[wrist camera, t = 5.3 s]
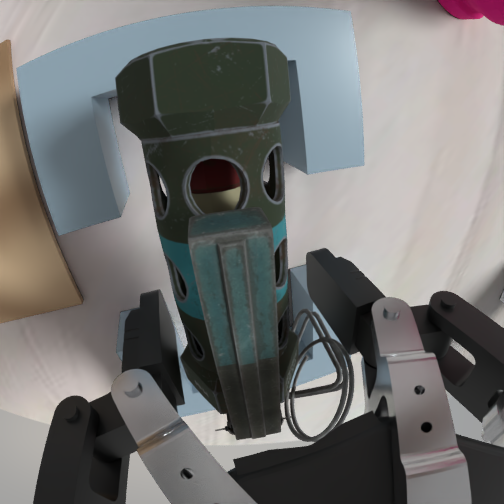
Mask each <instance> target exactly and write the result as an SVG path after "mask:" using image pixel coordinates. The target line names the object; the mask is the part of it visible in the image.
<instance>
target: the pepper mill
mask: <svg viewBox="0 0 504 504" xmlns="http://www.w3.org/2000/svg"><path fill="white" fill-rule="evenodd" d="M438 2H439V3H440V4H441V5H442V6H443V7H444V9H445V10H446V11H448V12H449V13H450V14H451V15H453V16H454V17H457V18H459V19H480V18H482V17H483V16H485V17H486V18H488V19H489V20H491V21H492V22H494V23H496V24H500V25H504V0H438Z"/></svg>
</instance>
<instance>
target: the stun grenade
mask: <svg viewBox="0 0 504 504" xmlns="http://www.w3.org/2000/svg"><path fill="white" fill-rule="evenodd" d="M115 82H116V92H117V100H118V108H119V116H120V123H121V124H122V125H123V126H125V127H126V128H127V129H128V130H130V131H131V132H132V133H134V134H135V135H136V136H137V137H138V138H139V139H140V140H141V142H142V147H143V153H144V158H145V163H146V168H147V173H148V177H149V181H150V186H151V193H152V201H153V206H154V212H155V218H156V223H157V229H158V233H159V237H160V241H161V244H162V248H163V252H164V256H165V259H166V262H167V265H168V270H169V275H170V280H171V285H172V289H173V294H174V298H175V301H176V305H177V308H178V311H179V314H180V318H181V321H182V323H183V325H184V329H185V333H186V337H187V341H188V344H187V346H186V348H185V350H184V351H183V353H182V355H181V356H180V360H181V362H182V365H183V368H184V371H185V373H186V376H187V379H188V380H189V381H190V382H191V383H192V384H193V386H194V387H195V388H196V389H197V390H198V391H199V392H200V394H201V395H202V396H203V397H204V398H205V399H206V400H207V401H208V402H209V403H210V404H211V405H212V406H213V407H214V408H215V409H216V410H217V411H218V412H219V413H220V414H227V420H228V422H227V426H225V428H223V429H218V430H215V431H219V430H225V429H226V431H228V432H229V433H230V434H232V435H235V436H236V439H237V440H240V439H246V438H252V439H255V438H261V437H265V436H266V435H269V434H274V433H279V432H281V425H282V423H283V421H284V420H283V419H286V420H287V423H288V426H289V428H290V430H291V432H292V433H293V434H294V435H295V436H296V437H297V438H298V439H300V440H302V441H307V442H310V441H312V442H317V441H318V440H320V439H321V438H323V437H324V436H325V435H327V434H328V433H330V432H331V431H333V430H334V429H335V428H337V427H338V426H340V425H341V424H342V423H343V422H344V420H345V418H346V416H347V414H348V412H349V409H350V406H351V403H352V398H353V392H354V371H353V366H352V362H351V359H350V356H349V354H348V352H347V351H346V350H345V348H344V347H343V345H342V344H341V343H340V342H338V341H337V340H335V339H332V338H331V336H330V334H329V332H328V330H327V328H326V327H325V325H324V323H323V321H322V319H321V317H320V315H319V314H318V313H317V312H310V311H309V309H302V310H301V311H300V312H298V314H297V316H296V318H295V321H294V323H293V326H292V329H290V328H289V298H288V280H287V278H288V256H287V232H286V219H285V181H284V168H283V150H282V141H281V131H280V122H279V119H280V117H281V115H282V114H283V112H284V111H285V109H286V108H287V106H288V104H289V103H290V101H291V95H290V83H289V71H288V60H287V57H286V56H285V55H284V53H283V52H282V51H281V50H280V49H279V48H278V47H277V46H276V45H275V44H273V43H270V42H268V41H264V40H258V39H251V38H211V39H201V40H194V41H188V42H182V43H177V44H173V45H169V46H165V47H161V48H158V49H155V50H152V51H149V52H147V53H144V54H142V55H140V56H138V57H136V58H134V59H132V60H131V61H130V62H129V63H128V64H127V65H126V66H125V67H124V68H123V69H122V70H121V71H120V73H119V74H118V75H117V76H116V77H115ZM268 156H269V165H270V178H269V181H268V183H267V182H264V181H263V172H264V167H265V163H266V161H267V158H268ZM159 176H160V177H161V179H162V181H163V184H164V186H165V188H166V193H167V196H166V195H165V194H164V192H163V191H162V187H161V184H160V179H159ZM274 254H275V255H274ZM303 313H306V314H307V316H306V318H305V320H304V322H303V324H302V327H301V329H300V332H299V334H298V335H297V334H296V333H294V332H295V329H296V327H297V324H298V321H299V319H300V317H301V315H302V314H303ZM313 316H314V317H315V318H316V319H317V321H318V323H319V325H320V327H321V329H322V331H323V333H324V335H325V337H324V335H323V333H322V331H321V330H320V328H319V326H318V324H317V322H316V320H315V319H314V317H313ZM309 319H310V321H311V323H312V325H313V327H314V328H315V330H316V332H317V334H318V336H319V339H317V340H315V341H313V342H311V343H310V344H309V345H307V346H306V347H305V348H304V349H303V351H302V352H301V353H300V355H299V342H300V340H301V337H302V335H303V332H304V330H305V327H306V325H307V322H308V320H309ZM320 342H322V344H323V346H324V348H325V349H326V351H327V353H328V355H329V357H330V359H331V361H332V363H333V365H334V367H335V369H336V372H337V379H336V381H335V382H334V383H332V384H330V385H325V386H321V387H316V388H311V389H306V390H300V391H295V389H296V384H297V380H298V377H299V374H300V372H301V370H302V367H303V366H304V364H305V362H306V360H307V359H308V357H309V356H308V355H305V357H304V358H303V360H302V362H301V363H300V365H299V367H298V370H297V372H296V375H295V378H294V381H293V385H292V390H291V392H289V390H290V385H291V381H292V378H293V375H294V372H295V370H296V367H297V365H298V363H299V362H300V360H301V359H302V357H303V356H304V354H305V353H306V352H307V351H308V350H309V349H310V348H311V347H313V346H314V345H316V344H318V343H320ZM328 343H329V344H328ZM329 345H330V346H329ZM330 347H331V348H330ZM331 349H332V350H331ZM332 351H333V352H332ZM341 351H342V352H341ZM333 353H334V354H333ZM342 353H343V354H342ZM343 355H344V356H343ZM344 357H345V359H346V362H347V365H348V370H349V373H348V370H347V366H346V362H345V359H344ZM341 369H342V370H341ZM342 374H343V382H342V383H341V384H340V382H341V381H342ZM348 379H349V394H348V399H347V403H346V406H345V409H344V412H343V414H342V416H341V418H340V420H339V421H338V419H339V417H340V415H341V413H342V410H343V407H344V404H345V400H346V396H347V388H348ZM340 389H342V395H341V399H340V404H339V406H338V409H337V412H336V414H335V416H334V418H333V420H332V421H331V423H330V424H329V426H328V427H327V428H326V429H325V430H324V431H323V432H322V433H320V434H319V435H317V436H314V437H309V436H307V435H306V434H305V433H304V432H303V431H302V430H301V429H300V427H299V425H298V423H297V420H296V416H295V411H294V398H300V397H306V396H312V395H318V394H323V393H328V392H333V391H338V390H340ZM288 399H290V408H291V416H292V421H293V424H294V426H295V428H296V430H297V431H296V430H295V428H294V427H293V425H292V422H291V419H290V418H291V416H290V415H289V407H288ZM284 400H285V403H284V405H285V416H286V417H285V418H282V413H281V409H280V403H283V402H284ZM337 421H338V423H337V424H336V422H337ZM335 424H336V425H335ZM334 425H335V426H334ZM333 427H334V428H333ZM332 428H333V429H332ZM331 429H332V430H331ZM330 430H331V431H330ZM329 431H330V432H329Z"/></svg>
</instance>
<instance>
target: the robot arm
mask: <svg viewBox="0 0 504 504" xmlns="http://www.w3.org/2000/svg"><path fill="white" fill-rule="evenodd" d="M306 271H307V289H308V293H309V296H310V298H311V300H312V301H313V302H314V304H315V305H316V307H317V308H318V310H319V311H320V313H321V314H322V316H323V317H324V319H325V320H326V321H327V323H328V324H329V326H330V327H331V329H332V330H333V332H334V333H335V335H336V336H337V338H338V339H339V341H340V342H341V344H342V345H343V347H344V348H345V350H346V351H347V352H348V354H349V355H352V354H354V353H357V352H360V353H361V355H362V361H361V365H362V375H363V385H364V396H365V412H364V414H363V415H361V416H359V417H357V418H354V419H352V420H350V421H348V422H345V423H343V424H341V425H340V426H338V427H337V428H335V429H334V430H333V431H331V432H330V433H328V434H327V435H325V436H324V437H323V438H321V439H320V440H318V441H317V442H315V443H314V444H312V445H309V446H304V447H295V448H285V449H274V450H267V451H264V452H260V453H257V454H253V455H249V456H245V457H241V458H237V459H234V460H233V461H234V464H235V468H234V469H232V470H230V471H228V472H226V471H225V470H224V469H223V467H222V466H221V465H220V464H219V463H218V462H217V461H216V459H215V458H214V457H213V456H212V455H211V454H210V452H209V451H208V450H207V449H206V448H205V446H204V445H203V444H202V443H201V442H200V440H199V439H198V438H197V437H196V435H195V434H194V433H193V432H192V430H191V429H190V428H189V427H188V425H187V424H186V423H185V422H184V421H183V420H182V419H181V417H180V416H179V415H178V410H177V406H179V405H184V404H185V400H184V394H183V387H182V380H181V373H180V366H179V358H178V350H177V341H176V334H175V329H174V325H173V322H172V319H171V316H170V314H169V311H168V309H167V306H166V303H165V301H164V298H163V295H162V293H161V291H160V290H155V291H151V292H147V293H143V294H141V295H140V308H138V309H134V310H131V311H130V313H129V315H128V316H127V318H126V320H125V327H124V332H125V333H124V339H123V340H124V342H123V355H122V374H120V375H119V376H118V377H117V378H116V379H115V380H114V382H113V384H112V387H111V392H110V393H108V394H106V395H105V396H102V397H100V398H98V399H96V400H94V401H92V402H88V401H87V400H86V399H85V398H83V397H81V396H70V397H67V398H66V399H64V400H63V401H61V402H60V403H59V405H58V406H57V408H56V410H55V412H54V416H53V419H52V422H51V426H50V429H49V433H48V437H47V441H46V444H45V448H44V452H43V457H42V461H41V466H40V470H39V475H38V479H37V485H36V490H35V496H34V501H33V504H125V502H126V489H127V478H128V467H129V458H130V454H131V453H133V452H135V451H137V452H138V454H139V456H140V458H141V459H142V461H143V463H144V464H145V466H146V467H147V469H148V471H149V472H150V474H151V475H152V477H153V478H154V480H155V481H156V483H157V484H158V486H159V487H160V489H161V490H162V492H163V493H164V495H165V496H166V497H167V499H168V500H169V501H170V503H171V504H504V328H502V327H501V326H500V325H498V324H497V323H496V322H494V321H493V320H492V319H490V318H489V317H488V316H486V315H485V314H483V313H482V312H481V311H479V310H478V309H476V308H475V307H474V306H472V305H471V304H469V303H468V302H466V301H465V300H464V299H462V298H461V297H459V296H458V295H456V294H454V293H452V292H448V291H440V292H436V293H434V294H433V295H432V297H431V299H430V302H429V305H422V306H413V307H410V306H409V305H408V304H407V303H406V302H404V301H403V300H401V299H398V298H394V297H385V296H384V295H383V293H382V292H381V291H380V290H379V289H378V288H377V287H376V286H375V285H374V284H373V283H372V282H371V281H370V280H369V279H368V278H367V277H365V275H364V274H363V273H362V272H361V271H359V269H358V268H357V267H356V266H355V265H354V264H353V263H352V262H350V261H348V260H346V259H344V258H342V257H338V258H335V256H334V255H333V254H332V253H331V252H330V251H329V250H328V249H326V248H323V249H319V250H315V251H311V252H308V253H307V255H306ZM453 339H454V340H455V341H456V342H457V343H459V344H460V345H461V346H462V347H464V348H465V349H466V350H467V351H468V352H470V353H471V354H472V355H473V356H474V358H475V362H476V363H475V365H473V364H472V363H471V362H470V361H468V360H467V359H466V358H465V357H464V356H462V355H461V354H460V353H459V352H458V351H456V350H455V349H454V348H453V347H451V346H450V345H451V342H452V340H453ZM445 389H446V390H447V391H448V392H449V393H450V394H451V395H452V396H453V397H454V398H455V399H457V400H458V401H459V402H460V403H461V404H462V405H463V406H464V407H465V408H466V409H467V410H468V411H470V412H471V413H472V414H473V415H474V416H475V417H476V418H477V419H478V420H479V421H480V422H481V423H482V425H483V431H482V433H481V436H482V439H483V440H484V441H490V442H491V444H489V443H485V442H482V441H478V440H475V439H471V438H468V437H464V436H461V435H458V434H455V430H454V425H453V420H452V416H451V411H450V407H449V403H448V399H447V395H446V391H445Z"/></svg>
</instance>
